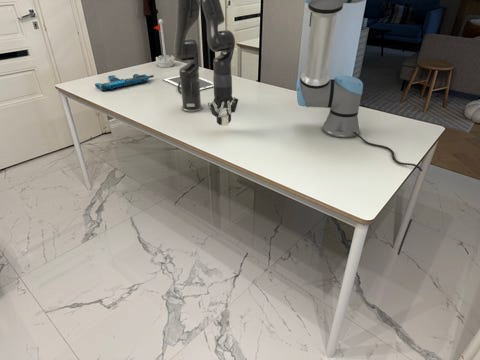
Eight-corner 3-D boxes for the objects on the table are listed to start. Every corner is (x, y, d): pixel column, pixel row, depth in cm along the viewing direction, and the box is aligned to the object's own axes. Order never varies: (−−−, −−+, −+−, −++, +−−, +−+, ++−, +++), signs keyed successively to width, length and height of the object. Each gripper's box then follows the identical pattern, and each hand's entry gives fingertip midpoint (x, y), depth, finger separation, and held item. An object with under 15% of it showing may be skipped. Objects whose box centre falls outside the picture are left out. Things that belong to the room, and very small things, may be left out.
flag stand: (173, 62, 250) (168, 17, 234) (176, 66, 240) (172, 20, 223) (155, 63, 246) (149, 18, 230) (158, 68, 236) (152, 21, 219)
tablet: (162, 79, 213) (162, 79, 213) (189, 73, 224) (189, 73, 224) (191, 92, 193) (191, 91, 192) (219, 85, 204) (219, 84, 203)
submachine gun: (139, 68, 225) (158, 74, 208) (140, 74, 226) (158, 80, 210) (87, 78, 206) (103, 86, 189) (89, 84, 208) (104, 92, 191)
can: (227, 126, 145) (227, 117, 143) (218, 125, 146) (218, 116, 144) (229, 122, 148) (229, 113, 146) (221, 122, 149) (220, 113, 147)
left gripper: (211, 89, 132) (213, 130, 141) (242, 83, 138) (242, 122, 148) (203, 84, 137) (205, 123, 147) (232, 78, 144) (233, 117, 153)
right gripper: (305, -25, 160) (301, 24, 172) (325, -22, 139) (318, 33, 151) (320, -25, 161) (315, 24, 173) (342, -22, 140) (334, 33, 152)
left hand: (224, 123), depth 147 cm, fingers closed on can, 3 cm apart
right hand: (316, 28), depth 162 cm, fingers open, 13 cm apart
